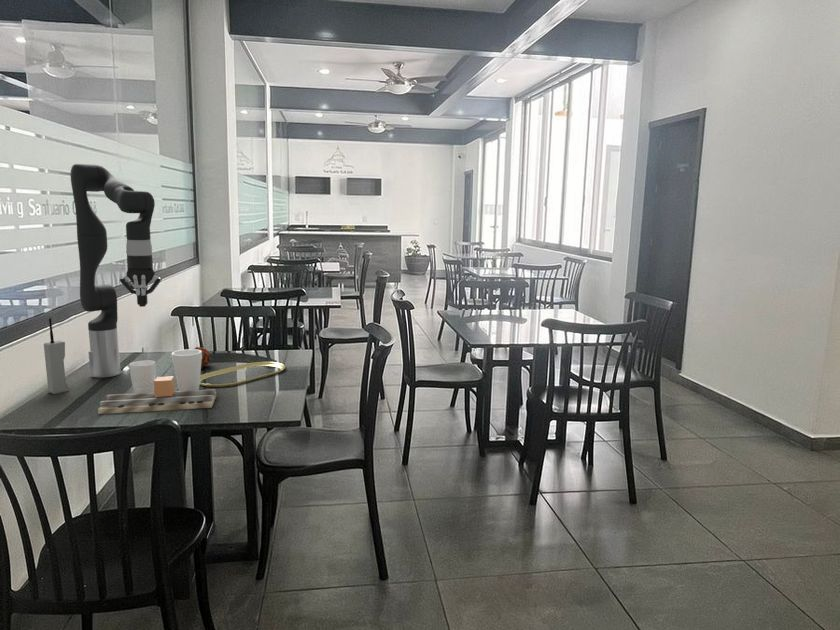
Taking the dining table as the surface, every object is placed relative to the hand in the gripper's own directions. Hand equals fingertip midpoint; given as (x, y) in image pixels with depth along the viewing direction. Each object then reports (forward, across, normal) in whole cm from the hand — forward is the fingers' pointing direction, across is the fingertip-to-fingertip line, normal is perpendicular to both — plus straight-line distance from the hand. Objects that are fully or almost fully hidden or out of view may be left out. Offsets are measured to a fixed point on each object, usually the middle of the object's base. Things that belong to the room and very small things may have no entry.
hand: (142, 306), depth 198 cm
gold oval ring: (+29, -30, -13) cm, 43 cm away
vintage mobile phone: (+29, +28, -2) cm, 41 cm away
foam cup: (+28, -14, +3) cm, 32 cm away
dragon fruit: (+29, -12, -29) cm, 42 cm away
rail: (+28, -8, +18) cm, 34 cm away
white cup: (+29, 0, +4) cm, 29 cm away
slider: (+26, -10, +18) cm, 34 cm away
